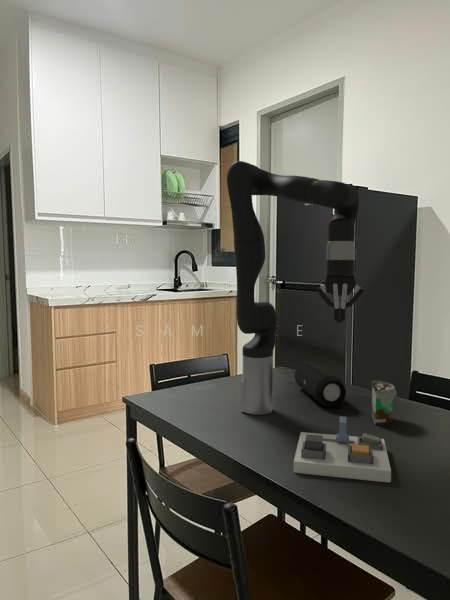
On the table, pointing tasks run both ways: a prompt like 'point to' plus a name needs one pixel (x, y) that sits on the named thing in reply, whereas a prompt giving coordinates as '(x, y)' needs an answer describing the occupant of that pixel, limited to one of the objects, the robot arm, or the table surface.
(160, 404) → the table surface
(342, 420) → the blue paddle
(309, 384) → the portable speaker
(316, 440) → the gray push button
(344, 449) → the control panel
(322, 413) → the table surface
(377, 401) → the food container
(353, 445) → the orange push button
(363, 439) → the olive rocker
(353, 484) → the table surface
